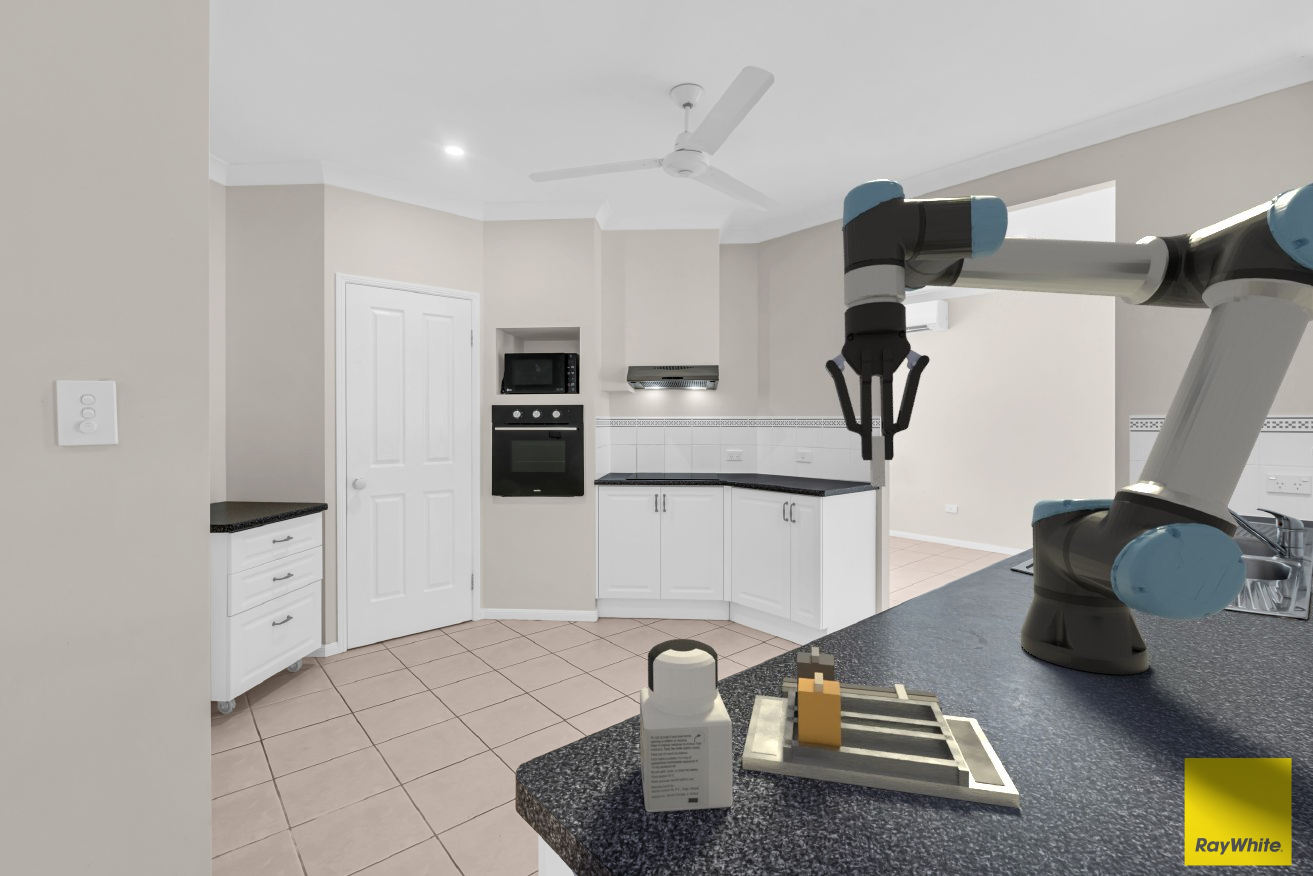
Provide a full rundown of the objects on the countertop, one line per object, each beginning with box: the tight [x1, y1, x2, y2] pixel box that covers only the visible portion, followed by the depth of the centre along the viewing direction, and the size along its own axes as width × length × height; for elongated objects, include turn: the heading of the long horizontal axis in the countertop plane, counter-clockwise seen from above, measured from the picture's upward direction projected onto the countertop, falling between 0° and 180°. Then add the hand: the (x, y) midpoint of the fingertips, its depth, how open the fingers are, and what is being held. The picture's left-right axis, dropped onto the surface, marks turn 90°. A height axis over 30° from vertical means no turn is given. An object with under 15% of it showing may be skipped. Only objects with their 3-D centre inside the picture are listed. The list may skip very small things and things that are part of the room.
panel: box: [742, 687, 1020, 809], centre depth 60 cm, size 24×14×3 cm, turn 75°
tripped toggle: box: [798, 672, 841, 746], centre depth 58 cm, size 4×3×7 cm
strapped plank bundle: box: [781, 677, 943, 713], centre depth 70 cm, size 18×5×2 cm, turn 75°
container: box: [639, 638, 733, 813], centre depth 54 cm, size 8×8×13 cm
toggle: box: [796, 646, 836, 706], centre depth 65 cm, size 4×3×7 cm
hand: (877, 485), depth 75 cm, fingers closed
